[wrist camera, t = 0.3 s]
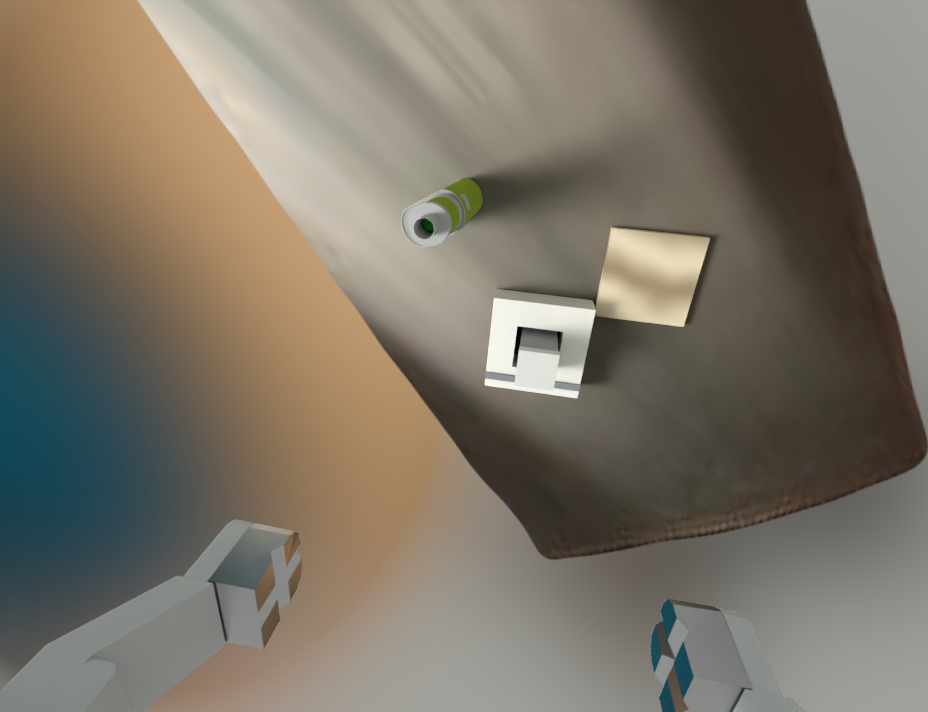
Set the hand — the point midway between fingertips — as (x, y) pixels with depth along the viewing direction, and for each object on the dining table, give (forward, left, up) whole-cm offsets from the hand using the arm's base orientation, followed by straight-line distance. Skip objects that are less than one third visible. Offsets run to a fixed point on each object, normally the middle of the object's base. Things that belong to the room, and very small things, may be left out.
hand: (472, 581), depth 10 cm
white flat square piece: (+13, +3, -46) cm, 48 cm away
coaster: (+4, +14, -46) cm, 48 cm away
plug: (+13, +3, -46) cm, 48 cm away
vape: (-2, -8, -46) cm, 47 cm away
